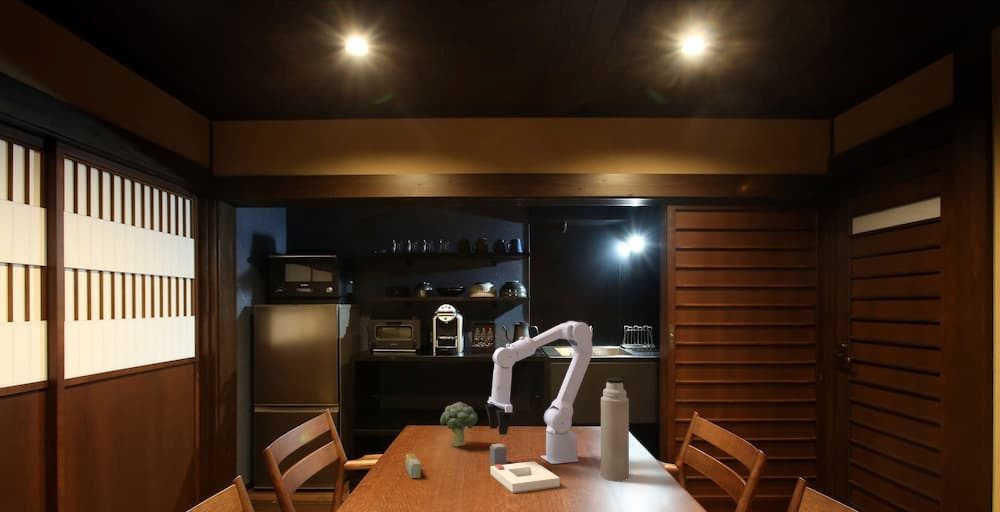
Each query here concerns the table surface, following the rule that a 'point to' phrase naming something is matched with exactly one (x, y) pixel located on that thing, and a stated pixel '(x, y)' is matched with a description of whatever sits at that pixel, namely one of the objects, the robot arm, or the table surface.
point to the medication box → (413, 466)
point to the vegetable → (459, 420)
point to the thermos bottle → (614, 431)
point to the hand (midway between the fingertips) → (497, 431)
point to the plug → (498, 454)
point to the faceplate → (524, 477)
